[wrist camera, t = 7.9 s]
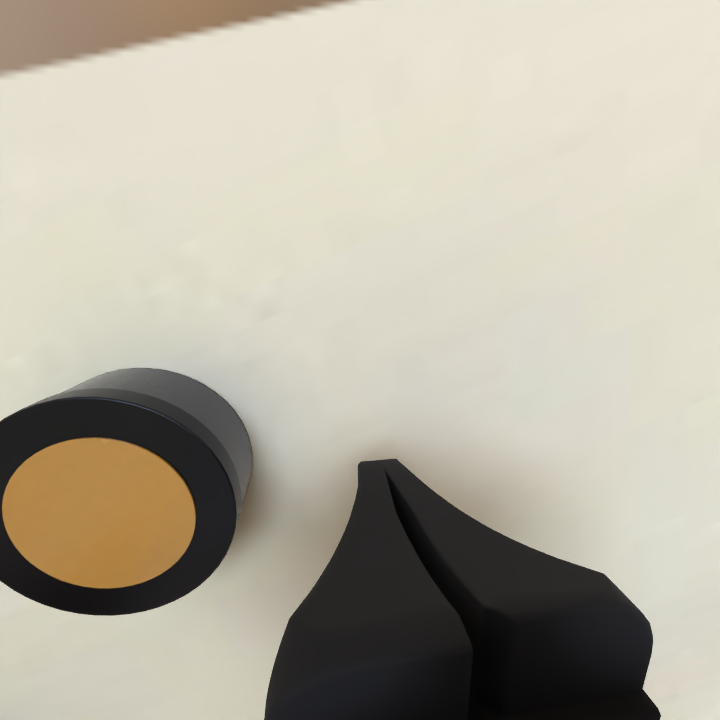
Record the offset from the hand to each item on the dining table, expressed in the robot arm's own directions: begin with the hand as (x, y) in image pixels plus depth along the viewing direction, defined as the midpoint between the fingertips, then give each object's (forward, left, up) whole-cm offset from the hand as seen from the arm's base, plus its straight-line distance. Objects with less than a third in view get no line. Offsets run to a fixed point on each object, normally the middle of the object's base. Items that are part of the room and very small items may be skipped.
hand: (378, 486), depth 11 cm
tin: (0, +8, -3) cm, 9 cm away
